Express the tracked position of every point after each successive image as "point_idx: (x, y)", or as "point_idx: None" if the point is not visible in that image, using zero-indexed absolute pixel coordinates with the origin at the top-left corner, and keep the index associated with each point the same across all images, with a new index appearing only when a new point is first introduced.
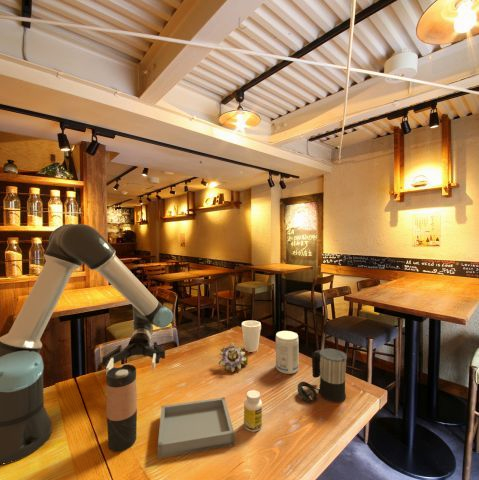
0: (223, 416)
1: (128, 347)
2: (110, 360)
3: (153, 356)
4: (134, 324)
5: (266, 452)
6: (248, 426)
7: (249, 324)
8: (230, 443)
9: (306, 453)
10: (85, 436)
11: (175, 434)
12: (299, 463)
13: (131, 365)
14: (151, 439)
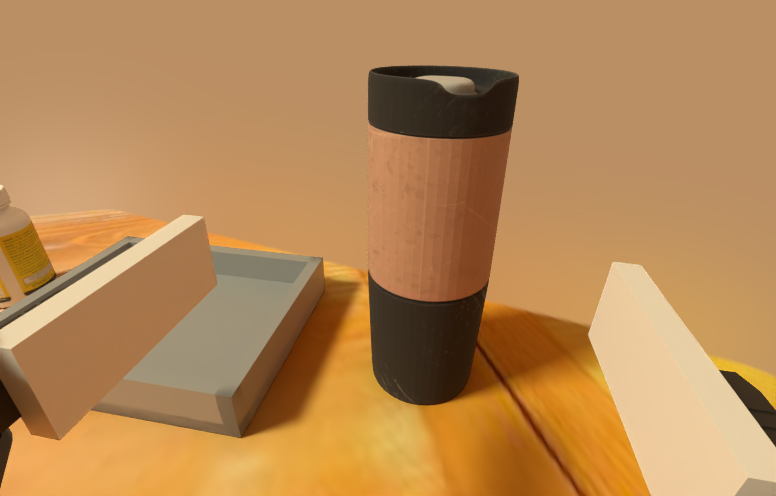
0: None
1: None
2: (723, 391)
3: (99, 285)
4: None
5: (102, 241)
6: (53, 269)
7: None
8: None
9: (47, 223)
10: (588, 445)
11: (249, 315)
12: (86, 217)
13: (391, 78)
14: (323, 344)
